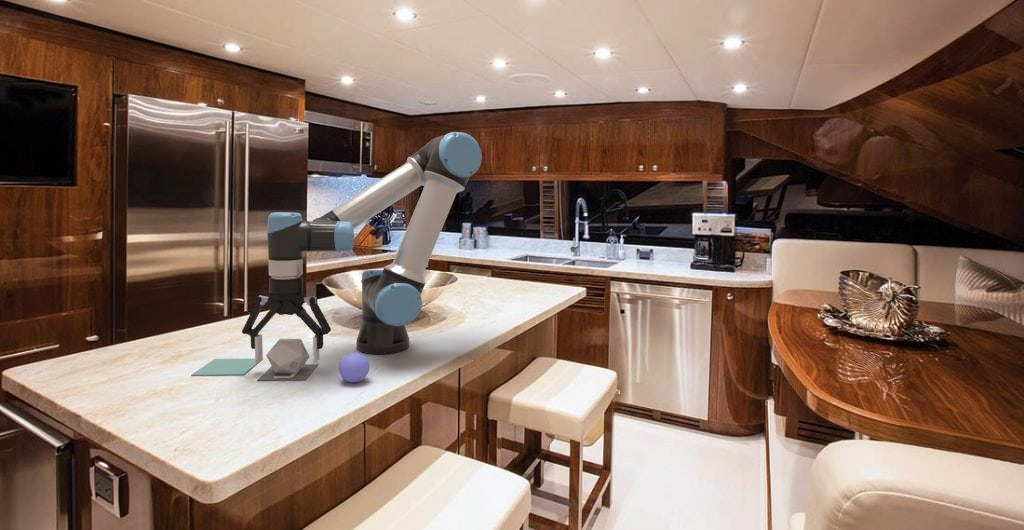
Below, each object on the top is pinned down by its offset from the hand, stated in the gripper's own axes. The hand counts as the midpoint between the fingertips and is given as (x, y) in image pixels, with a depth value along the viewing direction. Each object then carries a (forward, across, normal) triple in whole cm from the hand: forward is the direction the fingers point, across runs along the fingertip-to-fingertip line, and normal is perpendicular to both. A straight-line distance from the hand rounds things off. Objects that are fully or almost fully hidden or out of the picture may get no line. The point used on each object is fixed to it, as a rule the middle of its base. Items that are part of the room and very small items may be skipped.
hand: (288, 361), depth 125 cm
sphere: (+3, -17, +6) cm, 19 cm away
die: (+3, 0, 0) cm, 3 cm away
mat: (+3, +16, -4) cm, 17 cm away
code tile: (+3, 0, 0) cm, 3 cm away
